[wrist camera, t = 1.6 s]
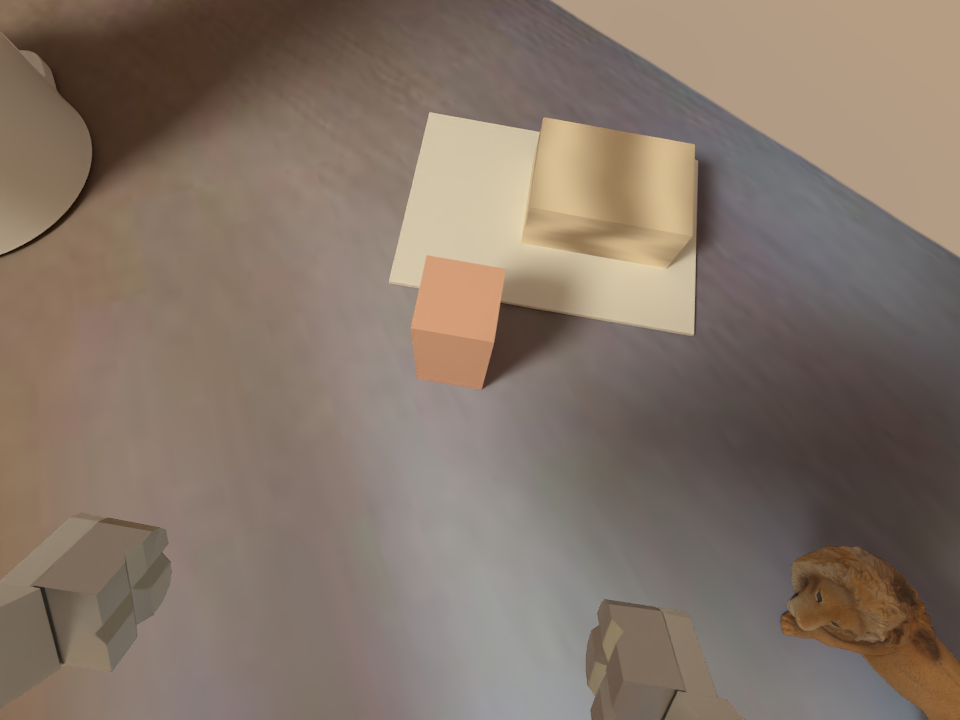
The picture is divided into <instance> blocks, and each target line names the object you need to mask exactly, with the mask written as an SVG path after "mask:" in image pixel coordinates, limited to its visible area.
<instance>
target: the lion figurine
mask: <svg viewBox="0 0 960 720" xmlns="http://www.w3.org/2000/svg"><path fill="white" fill-rule="evenodd" d="M791 566H792V567H791V571H792V575H791V580H792V585H793V589H794V591H795V594H794V595H793V597H792V598H791V599H789V600H788V602H787V609H788V610H789V612H787V613H785V614H784V615H782V616H781V627H782V631H783V633H784V634H786V635H790V636H795V637H800V638H812V639H816V640H818V641H820V642H822V643H824V644H826V645H828V646H833V647H837V648H841V649H846V650H851V651H854V652H857V653H861V654H862V655H863V657H864V658H865V659H866V660H867V662H868V663H869V664H870V665H871V666H872V667H873V668H874V670H875V671H876V672H877V673H878V674H879V675H880V676H881V677H882V678H883V679H884V680H885V681H886V682H887V683H888V684H889V685H890V686H891V687H893V688H894V689H895V690H896V691H897V692H898V693H899V694H901V695H902V696H903V697H904V698H906V699H907V700H908V701H910V702H911V703H913V704H914V705H916V706H917V707H919V708H920V709H921V710H922V711H923V712H924V713H925V714H926V716H927V718H928V720H960V663H959V662H958V661H957V659H956V658H955V657H954V656H953V655H952V654H951V653H950V651H949V650H948V649H947V648H946V647H945V646H944V645H943V643H942V642H941V641H940V640H939V639H938V638H937V637H936V633H935V630H934V629H933V628H932V626H931V623H930V617H929V616H928V615H927V614H926V613H925V610H926V607H925V606H924V604H923V603H922V602H921V601H920V600H919V599H918V593H917V591H916V590H914V589H913V588H912V587H911V586H909V584H908V582H907V581H906V579H905V578H904V577H903V576H902V575H901V574H900V573H899V572H897V571H896V570H895V569H894V568H893V567H892V566H891V565H889V564H888V563H887V562H886V561H885V560H883V559H882V558H877V557H876V556H874V555H871V554H870V553H869V552H867V551H864V550H862V549H861V548H859V547H856V546H855V547H851V548H850V547H848V546H841V547H833V546H827V547H825V548H821V549H819V550H818V551H815V552H811V553H808V554H807V555H804V556H802V557H800V558H798V559H797V560H796V561H795V562H793V563H792V564H791Z"/></svg>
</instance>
